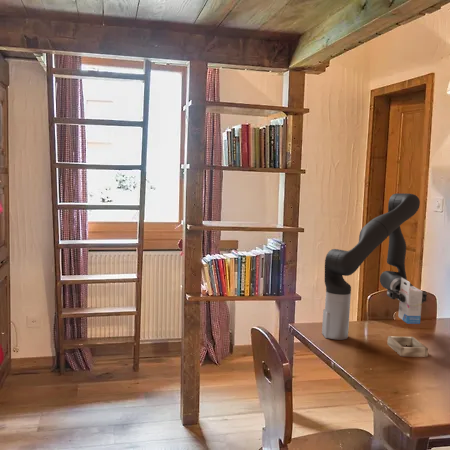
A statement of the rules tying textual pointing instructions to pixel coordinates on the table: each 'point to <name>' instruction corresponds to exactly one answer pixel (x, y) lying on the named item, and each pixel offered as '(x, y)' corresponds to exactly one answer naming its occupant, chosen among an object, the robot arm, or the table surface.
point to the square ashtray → (413, 351)
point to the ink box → (410, 303)
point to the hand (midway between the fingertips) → (412, 300)
